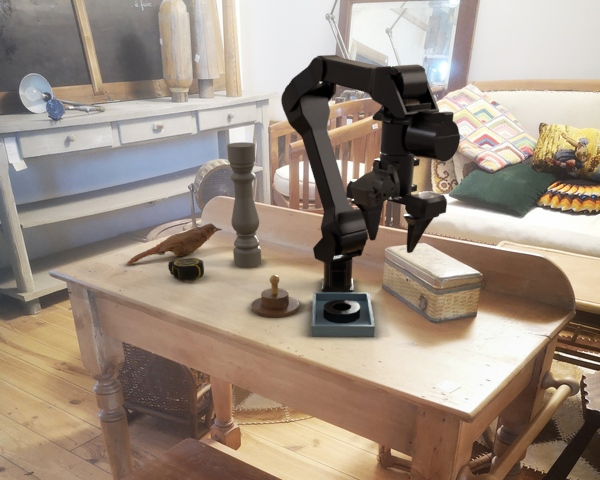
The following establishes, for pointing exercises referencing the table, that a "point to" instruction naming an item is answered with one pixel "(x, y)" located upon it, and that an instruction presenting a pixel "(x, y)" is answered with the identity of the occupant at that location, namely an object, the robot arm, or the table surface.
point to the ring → (341, 311)
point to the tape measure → (186, 268)
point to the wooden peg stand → (275, 302)
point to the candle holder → (244, 205)
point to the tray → (353, 329)
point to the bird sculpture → (181, 242)
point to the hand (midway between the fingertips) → (390, 246)
